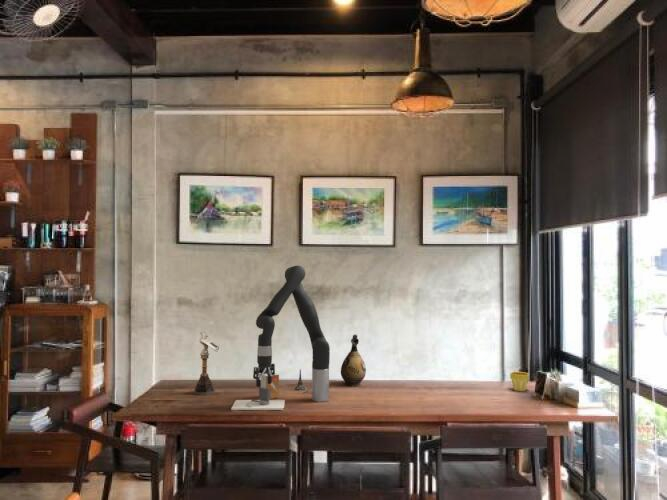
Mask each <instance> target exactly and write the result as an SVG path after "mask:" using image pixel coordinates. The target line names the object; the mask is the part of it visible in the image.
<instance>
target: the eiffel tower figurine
mask: <svg viewBox="0 0 667 500" xmlns="http://www.w3.org/2000/svg"><path fill="white" fill-rule="evenodd" d="M301 371H302V369H299V376H298V377H299V378H298V382H297V384H296V386H295V388H293V390H295V391H297V392H301V391H303V394H308V392H309V391H310V390H312V387H310V386H309V387H307V386H304V384H303V381H302V372H301Z"/></svg>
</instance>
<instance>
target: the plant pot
mask: <svg viewBox="0 0 667 500" xmlns="http://www.w3.org/2000/svg"><path fill="white" fill-rule="evenodd" d="M509 375H510V379H511V384H512V389H513V391H515V392H525V391H526V389H527V386H528V385H527V384H528V381H529V379H530V374H529V373H528V372H524V371H511V372H510V373H509Z"/></svg>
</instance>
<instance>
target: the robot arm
mask: <svg viewBox="0 0 667 500" xmlns="http://www.w3.org/2000/svg"><path fill="white" fill-rule="evenodd" d="M284 278H285V283H284V284H283V286H282V287H281V288H280V289H279V290H278V292H276V294H274V296H273V297H272V299H271V300H270V302H269V303H268V305H267V307H266V308H264V309H263V310H262V311H261V312H260V314H258V316H257V317H256V320H255V325H256V327H257V329H261V330H262V333H260V334H259V335H258V338H257V354H256V355H257V357H256V363H257V364H258V366H254V367H253V374H252V375H253V376H252V378H253V379H254V380H255V381H256V382H255V386H256V388H260V387H261V377H262V376H263V374H267V375H268V382H267V383H268V384H271V383H272V376H273V375H275V373H276V366H275V363H272V362H273V357H272V356H273V348H272V346H273V344H272V342H273V339H272V338H273V334H274V332H275V325H276V324H275V319H274V318H273V317H275V316H278V315H279V314H280V312H281V310H282V309H283V307H284V305H285V304H286V302H287V301H288V300H289V298H290V297H291V295H292V297H293V299H294V301H295V305H296V308H297V311H298V314H299V316H300V318H301V321H302V323H303V326H304V327H305V329H306V331H307V333H308V336H309V339H310V340H309V341H310V343H311V349H312V362H311V400H312V401H314V402H320V403H321V402H329V401H330V353H331V352H330V351H331V349H330V345H329V342H328V341H327V339H326V337H325V335H324V333H323V331H322V328H321V324H320V319H319V315H318V312H317V308H316V306H315V304H314V301H313V300H312V299H311V297H310V295H308V293H307V292H306V290H305V289H304V287H303V283H302V281H304V279H305V278H306V270H305V268H304V267H303V266H301V265H293V266H290V267H288V268H286V270H285V271H284Z"/></svg>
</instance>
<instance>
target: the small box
mask: <svg viewBox="0 0 667 500" xmlns="http://www.w3.org/2000/svg"><path fill="white" fill-rule="evenodd" d="M260 380H261V387H265V388H270V400H273V399H278V398H279V397H280V395H279V393H280V374H279V373H276V372H275V375H273V376H272V383H271V384H268V383H267V382H268V375H267V374H263V376H262V377H261V379H260ZM272 398H273V399H272Z"/></svg>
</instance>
